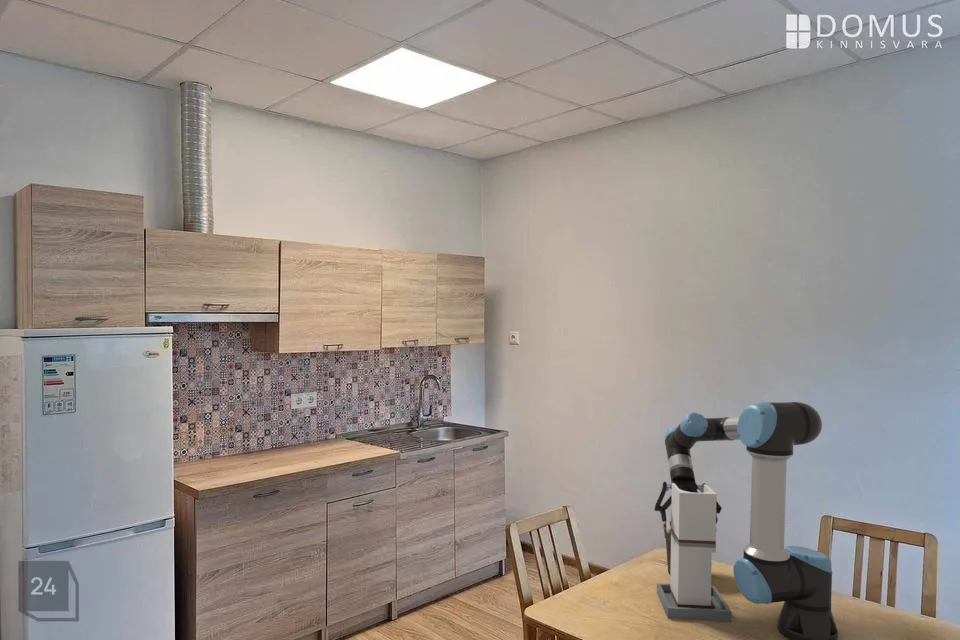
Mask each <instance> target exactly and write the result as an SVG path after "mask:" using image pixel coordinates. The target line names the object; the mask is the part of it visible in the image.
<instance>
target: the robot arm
mask: <svg viewBox="0 0 960 640" xmlns="http://www.w3.org/2000/svg"><path fill="white" fill-rule="evenodd" d="M822 427H823V422H822V418H821V416H820V414H819V412H818V411H817V410H816V409H815V408H814V407H812V405H809V404H806V403H804V402H800V401H791V402H790V401H788V402H785V401H784V402H782V401H781V402H779V401H777V402H774V401H773V402H770V401H769V402H763V401H762V402H759V403H751V404H748V405H747V406H746V407H744V409H743V410H742V411H741V413H740V415H735V416H726V417H705V416H704V415H703V414H701V413H698V412H695V411H694V412H693V411H692V412H689V413H688V414H687V415H686V416H684V418H682V419H681V421H680V423H679V424H678V426H675V427H671V428H669V429H668V430H666V431H665V432H664V446H665V450H666V455H667V462H668V468H669V476H670V483H667V481H663V482H662V485H661V492H660V493H659V495H658V498H657V500H656V502H655V506H654V508H653V509H654V512H655V511H656V512H659V514H660V517H661V521H662V522H664V523H665V522H666V530H667V533H670V530H671V527H670V521H671V519H670V513H669V507H671V501H672V494H671V495H670V496H669V497H668V498H667V500H666V501H665V502H664V503H663V505H662V502H663V500H664V498H665V495H666V493H667V492H668V491H669V490H670V489H671V491H672V483H675V484H676V486H677V487H678V488H679V489H680V490H683V491H687V492H694V493H704V484H706V483H705V482H704V483H702V484H699V485H698V484H697V481H696V477H695V472H694V467H693V462H692V455H691V449H692V448H693V447H694V446H695V444H696V443H697V442H714V441H715V442H718V441H719V442H720V441H721V442H722V441H730V442H731V441H736V440H737V441H739V440H740V441H741V443H742V444H743V445H744V446H745V447H746V449H745V451H746V452H747V453H748V454H749V455H750V456H751V482H750V483H751V486H750V487H751V489H750V518H749V519H750V522H749V523H750V524H749V526H750V527H749V543H747V544H746V545H745V546H744V547H743V557H742V558H738V559H737V560H735V563H734V564H733V577H734V580H735V585H736V587H737V588H738V590H739V591H740V593H741V594H742V596H743V597H744V598H745V599H746V600H748V601H749V602H750V603H753V604H756V605H759V604H765V605H770V604H772V603H773V604H774V603H781V602H783V605H782V607H781V610H780V612H779V614H778V616H777V617H778V618H777V620H776V621H777V622H776V624H777V626H776V628H777V631H778V632H779V634H781V635H782V636H783V637H784V638H786V639H788V640H839V630H838V628H837V627H838V626H837V625H836V622H835V618H834V615H833V612H832V588H833V587H832V584H833V583H832V582H833V571H832V568H833V567H832V560H831V559H830V557H829V556H828V555H826V554H825V553H823V552H820V551H818V550H815V549H812V548H809V547H804V546H798V545H787V546H786V547H785V529H786V528H785V527H786V525H785V524H786V523H785V521H786V494H787V493H786V492H787V490H786V489H787V461H788V460H789V459H791V457H792V456H793V455H794V446H800V445H806V444H809V443H811V442H814V441H815V440H816V439H817V438H818V437H819V435H820V434H821V431H822ZM698 490H699V491H700V492H699V491H698ZM722 509H723V508H722V506H721V504H720V503H719V502H718V501H717V500H716V525H717V523H718V522H719V519H718V514H720V513H721V512H722ZM717 530H718V529H716V532H717Z"/></svg>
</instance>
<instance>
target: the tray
mask: <svg viewBox="0 0 960 640" xmlns="http://www.w3.org/2000/svg"><path fill="white" fill-rule="evenodd" d="M656 595H657V597H658V599H659V601H660V604H661V606H662V608H663V611H664V613H665V616H666V618H667V619H668V620H669V619H671V620H672V619H673V620H686V621H687V620H688V621H689V620H690V621H691V620H693V621H708V622H727V623H728V622H729V623H732V610H731V609H730V607H729V606H728V604H727V602H726V601H725V599H724V597H723V596H722V595H721V594H720V592H719V590H718V589H717V588H716V585H711V600H712V602H713V604H714V605H715V609H702V608H683V607H676V606H675V604H674V602H673V600H672V598H671V595H670V583H656Z"/></svg>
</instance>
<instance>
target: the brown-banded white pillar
mask: <svg viewBox="0 0 960 640" xmlns="http://www.w3.org/2000/svg"><path fill="white" fill-rule="evenodd" d="M671 495H672V501H671V505H670V508H671V509H670V510H671V513H670V514H671V517H670V521H671V575H670V579H669V580H670V582H669V584H670V595H671V598H672V600H673V602H674V604H675V606H676V607H683V608H702V609H715V605H714V604H713V602H712V600H711V586H712V555H713V554H712V553H714V554H715V553H716V552H717V551H716V549H717V531H716V530H717V524H716V501H717V493H716V492H715V491H714V490H713V489H712V488H711V487H710V486H708V484H706V483H705V484H704V493H702V492H699V493H694V492H687V491H683V490H680V489H679V488H678V487H677V486H676V484H675V483H672V490H671Z"/></svg>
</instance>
